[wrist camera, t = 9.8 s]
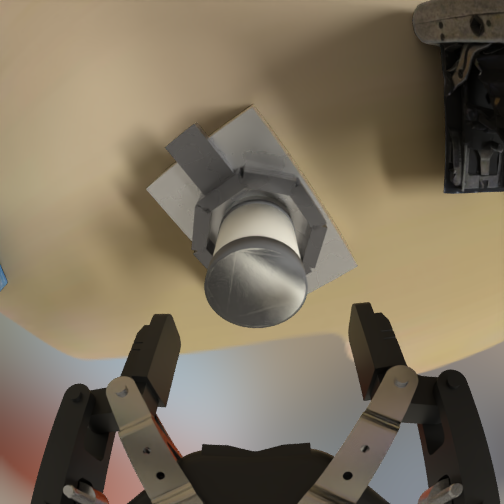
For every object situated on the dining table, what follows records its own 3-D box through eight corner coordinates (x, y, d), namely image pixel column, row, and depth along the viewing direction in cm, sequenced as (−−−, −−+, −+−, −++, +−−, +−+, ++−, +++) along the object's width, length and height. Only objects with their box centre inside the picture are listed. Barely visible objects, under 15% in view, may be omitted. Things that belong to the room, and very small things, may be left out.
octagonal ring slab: (242, 90, 20) (237, 90, 15) (345, 241, 26) (362, 277, 21) (152, 160, 23) (125, 182, 18) (262, 288, 29) (262, 329, 24)
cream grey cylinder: (214, 197, 20) (195, 250, 14) (292, 190, 20) (307, 241, 14) (225, 263, 23) (214, 330, 17) (295, 257, 22) (307, 324, 16)
